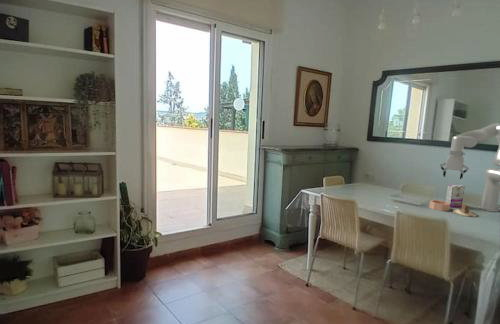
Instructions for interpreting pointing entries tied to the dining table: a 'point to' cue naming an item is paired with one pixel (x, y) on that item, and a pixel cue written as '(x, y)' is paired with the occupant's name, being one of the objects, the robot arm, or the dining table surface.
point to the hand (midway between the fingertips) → (452, 177)
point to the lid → (464, 211)
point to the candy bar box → (455, 195)
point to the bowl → (439, 205)
